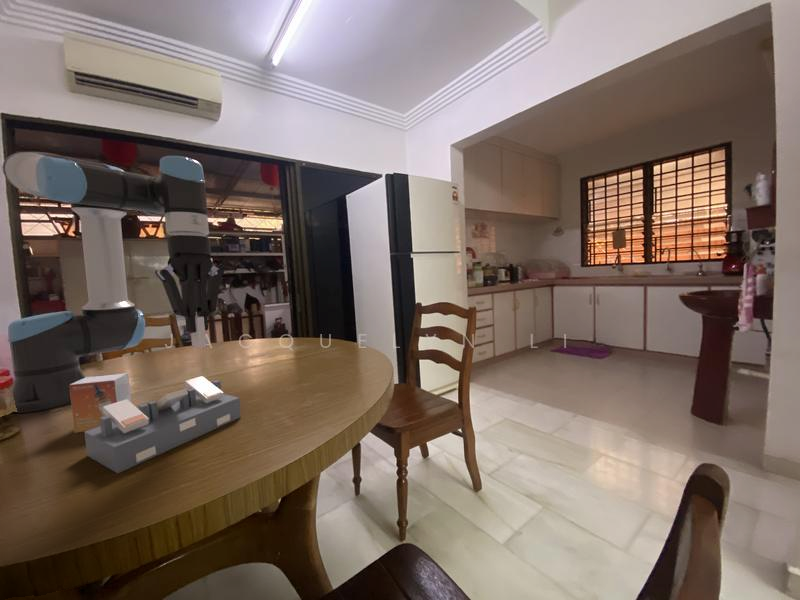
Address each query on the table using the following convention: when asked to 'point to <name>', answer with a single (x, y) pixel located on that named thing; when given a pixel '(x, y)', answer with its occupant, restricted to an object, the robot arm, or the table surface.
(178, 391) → the rocker
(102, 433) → the console
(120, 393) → the small box
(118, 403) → the rocker
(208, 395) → the rocker
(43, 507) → the table surface
